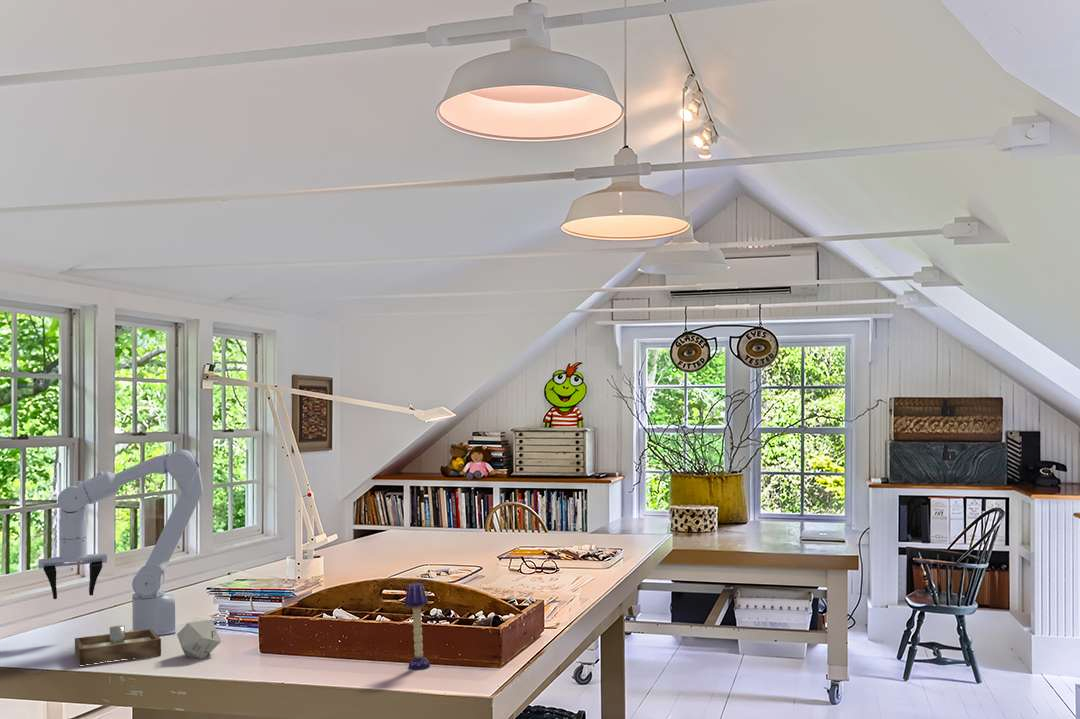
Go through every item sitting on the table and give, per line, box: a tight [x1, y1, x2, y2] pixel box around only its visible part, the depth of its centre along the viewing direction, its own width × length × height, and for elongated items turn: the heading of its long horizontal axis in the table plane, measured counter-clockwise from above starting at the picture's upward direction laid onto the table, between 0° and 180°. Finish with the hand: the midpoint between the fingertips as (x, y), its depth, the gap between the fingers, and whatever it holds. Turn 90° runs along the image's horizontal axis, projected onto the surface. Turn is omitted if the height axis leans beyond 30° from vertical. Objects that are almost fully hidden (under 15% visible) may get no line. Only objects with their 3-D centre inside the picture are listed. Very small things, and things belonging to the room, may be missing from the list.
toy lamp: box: [404, 582, 431, 670], centre depth 206 cm, size 5×5×17 cm
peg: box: [109, 625, 126, 645], centre depth 221 cm, size 3×3×6 cm
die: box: [176, 617, 222, 659], centre depth 218 cm, size 8×9×10 cm
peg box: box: [74, 629, 162, 666], centre depth 220 cm, size 16×12×4 cm
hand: (73, 596), depth 236 cm, fingers open, 7 cm apart
